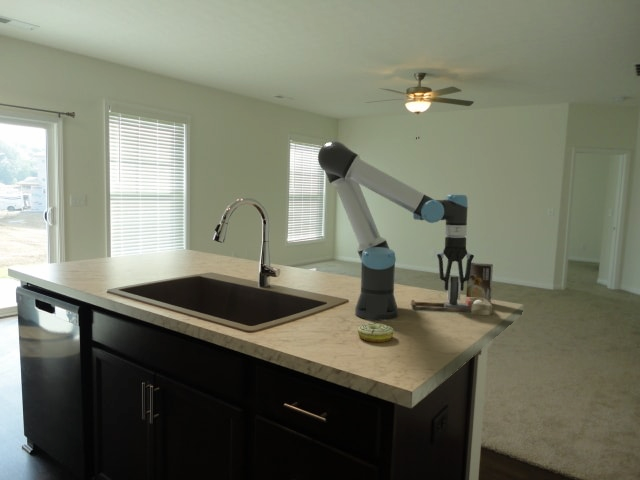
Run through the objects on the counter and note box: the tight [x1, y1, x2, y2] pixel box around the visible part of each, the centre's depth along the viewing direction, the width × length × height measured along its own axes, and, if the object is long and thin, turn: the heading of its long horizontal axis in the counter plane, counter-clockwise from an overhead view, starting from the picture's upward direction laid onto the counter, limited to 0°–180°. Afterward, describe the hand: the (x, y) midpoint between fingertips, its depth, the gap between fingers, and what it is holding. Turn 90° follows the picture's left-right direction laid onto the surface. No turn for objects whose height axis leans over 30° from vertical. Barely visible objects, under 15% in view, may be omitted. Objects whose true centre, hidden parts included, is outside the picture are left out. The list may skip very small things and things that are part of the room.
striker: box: [443, 275, 471, 309], centre depth 169 cm, size 9×5×12 cm, turn 82°
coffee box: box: [465, 262, 494, 305], centre depth 180 cm, size 9×6×16 cm
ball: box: [473, 300, 484, 304], centre depth 169 cm, size 4×4×4 cm
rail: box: [410, 299, 471, 313], centre depth 171 cm, size 21×8×2 cm, turn 82°
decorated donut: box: [357, 322, 395, 343], centre depth 135 cm, size 10×11×4 cm
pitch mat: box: [410, 304, 472, 315], centre depth 170 cm, size 28×12×1 cm, turn 82°
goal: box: [465, 296, 493, 316], centre depth 169 cm, size 7×12×4 cm, turn 172°
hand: (453, 298), depth 170 cm, fingers closed on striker, 3 cm apart
